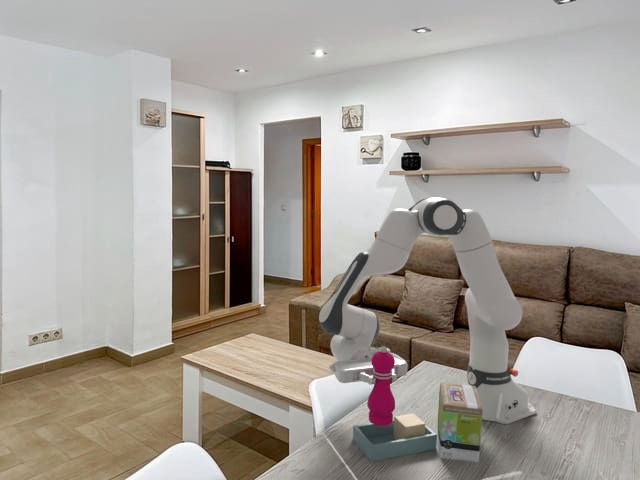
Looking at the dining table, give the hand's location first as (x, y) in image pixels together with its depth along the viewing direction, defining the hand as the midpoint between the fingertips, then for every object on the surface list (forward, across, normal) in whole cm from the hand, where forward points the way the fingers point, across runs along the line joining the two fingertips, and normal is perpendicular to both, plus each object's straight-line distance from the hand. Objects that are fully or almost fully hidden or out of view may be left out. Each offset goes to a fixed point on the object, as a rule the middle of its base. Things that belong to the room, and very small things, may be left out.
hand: (383, 380), depth 122 cm
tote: (-1, +4, +19) cm, 19 cm away
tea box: (+5, +20, +19) cm, 28 cm away
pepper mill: (-1, 0, +12) cm, 12 cm away
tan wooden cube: (-1, +9, +18) cm, 20 cm away
